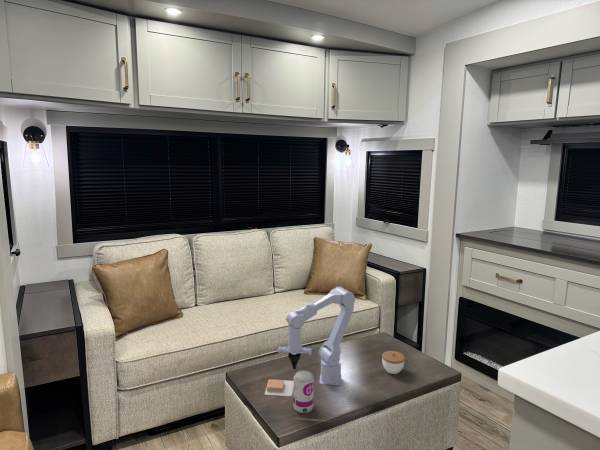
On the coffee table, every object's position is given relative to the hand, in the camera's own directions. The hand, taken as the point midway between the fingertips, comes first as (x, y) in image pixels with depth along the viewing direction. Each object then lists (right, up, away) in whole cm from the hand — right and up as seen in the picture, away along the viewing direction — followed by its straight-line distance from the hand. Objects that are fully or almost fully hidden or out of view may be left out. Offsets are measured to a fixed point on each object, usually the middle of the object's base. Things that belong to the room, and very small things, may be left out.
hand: (294, 368), depth 180 cm
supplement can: (+4, -13, -11) cm, 18 cm away
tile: (-5, -9, +2) cm, 10 cm away
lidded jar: (+48, -8, +19) cm, 52 cm away
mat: (-7, -10, +2) cm, 12 cm away
